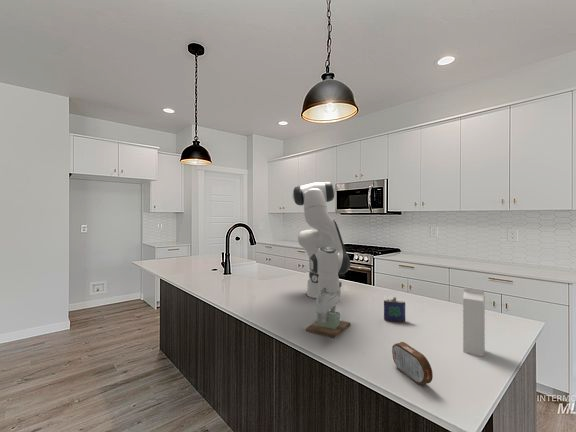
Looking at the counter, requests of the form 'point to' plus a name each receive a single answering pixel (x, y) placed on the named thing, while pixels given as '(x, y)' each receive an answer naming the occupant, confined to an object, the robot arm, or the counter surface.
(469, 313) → the milk
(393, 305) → the flask
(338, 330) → the board
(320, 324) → the pale green block
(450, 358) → the counter surface
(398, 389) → the counter surface
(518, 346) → the counter surface
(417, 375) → the tin
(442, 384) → the counter surface
